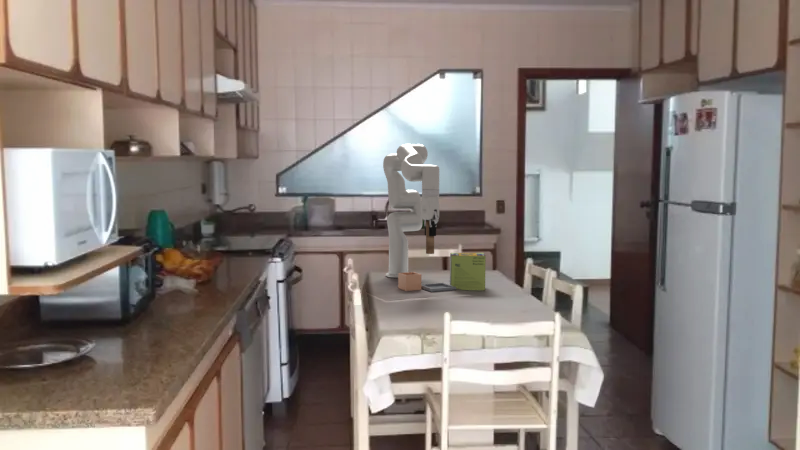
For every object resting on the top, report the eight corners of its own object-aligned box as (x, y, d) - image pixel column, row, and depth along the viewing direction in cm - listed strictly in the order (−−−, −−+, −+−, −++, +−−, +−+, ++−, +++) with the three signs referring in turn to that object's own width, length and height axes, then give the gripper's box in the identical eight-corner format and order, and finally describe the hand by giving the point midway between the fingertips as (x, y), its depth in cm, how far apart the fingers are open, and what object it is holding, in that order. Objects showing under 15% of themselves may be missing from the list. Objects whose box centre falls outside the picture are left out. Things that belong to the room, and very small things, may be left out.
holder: (398, 289, 321) (398, 272, 321) (413, 288, 324) (413, 271, 324) (405, 292, 314) (405, 275, 314) (421, 291, 318) (421, 274, 317)
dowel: (424, 253, 319) (424, 221, 318) (432, 252, 320) (432, 221, 319) (428, 254, 315) (428, 221, 314) (435, 253, 317) (435, 221, 316)
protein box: (485, 290, 320) (486, 255, 319) (450, 290, 321) (451, 255, 319) (483, 286, 331) (483, 252, 330) (449, 286, 331) (449, 252, 330)
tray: (418, 289, 322) (418, 284, 322) (442, 287, 327) (442, 282, 327) (431, 293, 312) (431, 288, 311) (455, 291, 317) (455, 286, 316)
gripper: (414, 193, 322) (414, 234, 323) (430, 194, 307) (430, 237, 308) (430, 192, 325) (429, 233, 326) (446, 194, 309) (446, 237, 311)
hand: (430, 235), depth 317 cm, fingers closed on dowel, 3 cm apart
